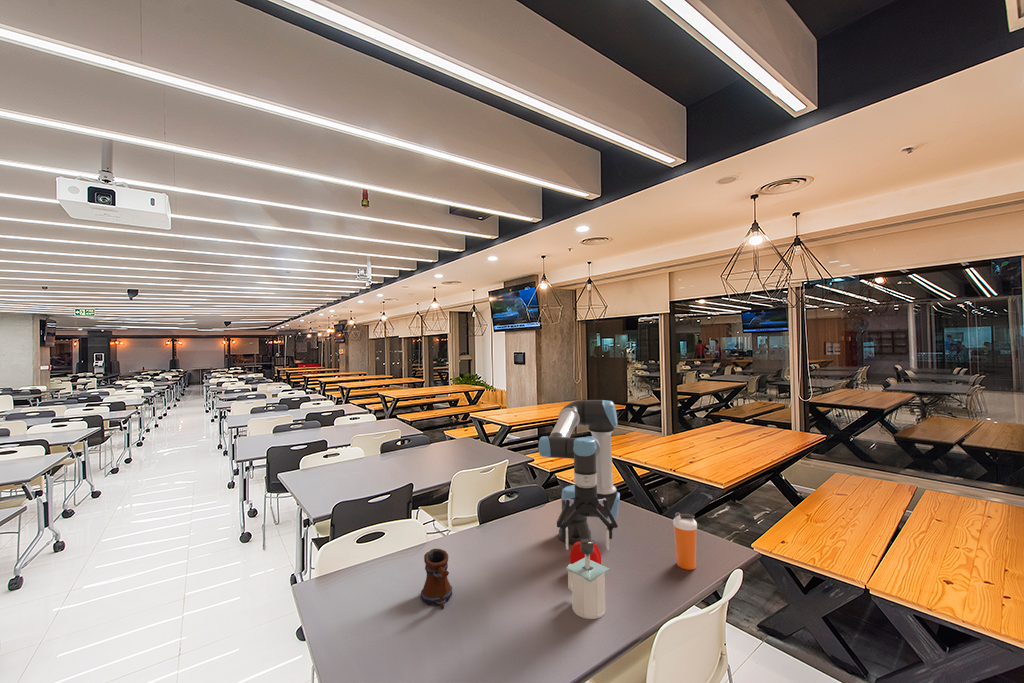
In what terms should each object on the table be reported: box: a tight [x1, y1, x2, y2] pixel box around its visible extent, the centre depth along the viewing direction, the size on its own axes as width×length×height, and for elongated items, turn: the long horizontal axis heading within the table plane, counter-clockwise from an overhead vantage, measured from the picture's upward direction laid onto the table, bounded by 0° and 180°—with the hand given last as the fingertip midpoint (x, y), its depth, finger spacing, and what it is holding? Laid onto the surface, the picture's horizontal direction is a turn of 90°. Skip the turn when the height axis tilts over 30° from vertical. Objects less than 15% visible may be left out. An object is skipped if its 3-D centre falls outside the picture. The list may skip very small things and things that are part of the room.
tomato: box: [569, 539, 602, 565], centre depth 156 cm, size 12×12×13 cm
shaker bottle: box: [672, 511, 698, 571], centre depth 162 cm, size 9×9×20 cm
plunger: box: [580, 538, 594, 571], centre depth 135 cm, size 8×8×18 cm
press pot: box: [565, 558, 610, 620], centre depth 136 cm, size 14×11×13 cm
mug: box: [420, 548, 453, 609], centre depth 141 cm, size 18×12×15 cm, turn 25°
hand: (587, 548), depth 136 cm, fingers open, 13 cm apart
